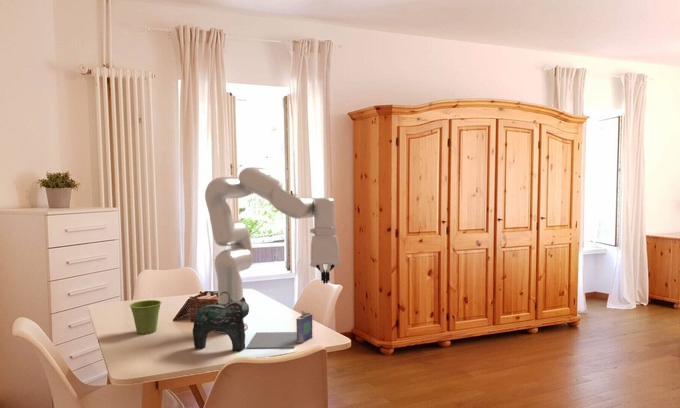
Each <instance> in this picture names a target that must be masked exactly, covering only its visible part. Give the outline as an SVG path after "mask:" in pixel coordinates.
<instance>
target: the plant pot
mask: <svg viewBox="0 0 680 408" xmlns="http://www.w3.org/2000/svg"><path fill="white" fill-rule="evenodd" d="M161 305H162V301H161V300H156V299H152V300H151V299H148V300H140V301H135V302H131V303H130V304H129V307H130V308H131V312H132V316H133V322H134V325H135V330H136V333H137V334H139V335H149V334H152V333H154V332H157V328H158V322H159V321H158V320H159V312H160V308H161Z"/></svg>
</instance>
